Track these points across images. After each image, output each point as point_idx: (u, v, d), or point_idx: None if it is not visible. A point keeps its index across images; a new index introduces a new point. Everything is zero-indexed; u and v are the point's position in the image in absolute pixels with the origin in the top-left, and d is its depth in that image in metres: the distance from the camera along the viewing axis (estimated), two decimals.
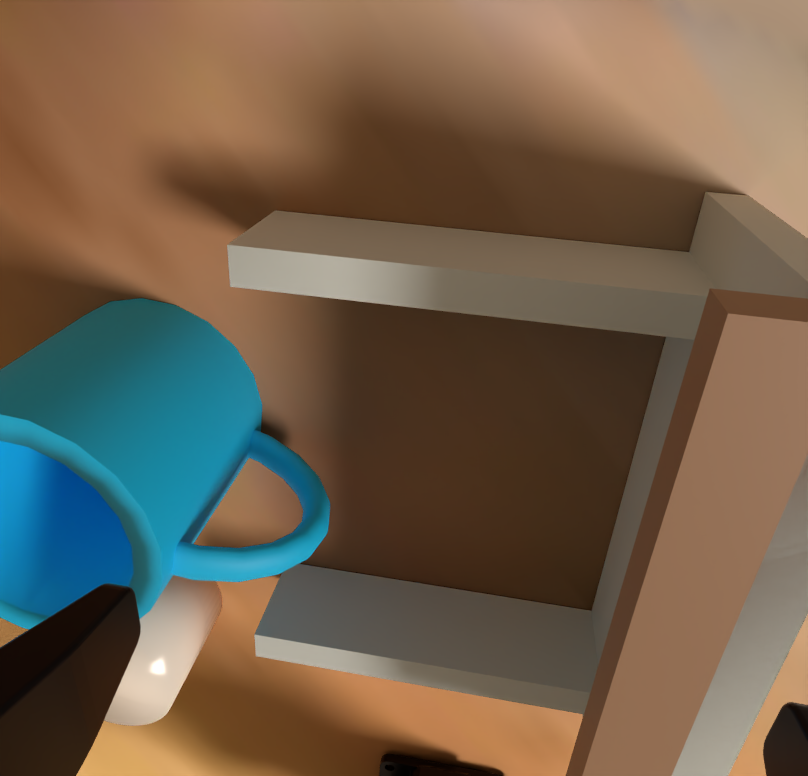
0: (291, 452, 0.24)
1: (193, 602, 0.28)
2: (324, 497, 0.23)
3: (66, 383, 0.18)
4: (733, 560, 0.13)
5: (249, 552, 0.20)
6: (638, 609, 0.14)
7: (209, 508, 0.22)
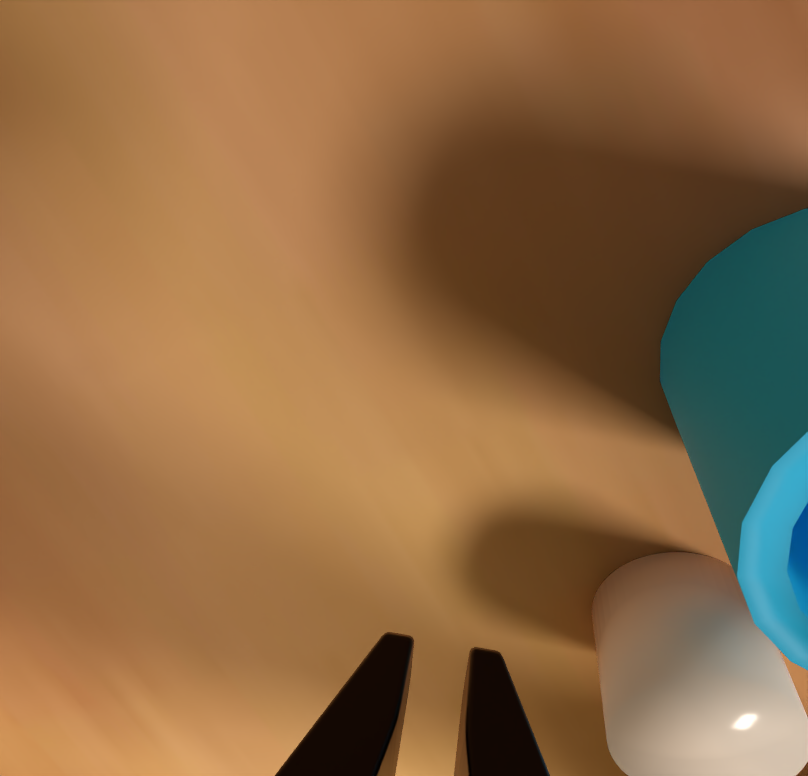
0: None
1: None
2: None
3: None
4: None
5: None
6: None
7: None
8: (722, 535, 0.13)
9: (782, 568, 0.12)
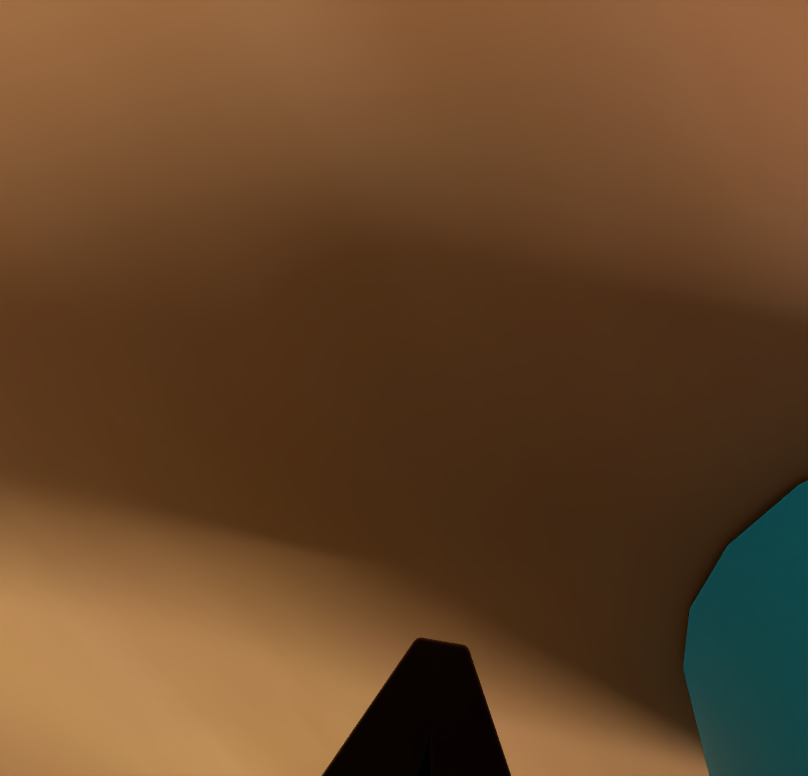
0: None
1: None
2: None
3: None
4: None
5: None
6: None
7: None
8: None
9: None
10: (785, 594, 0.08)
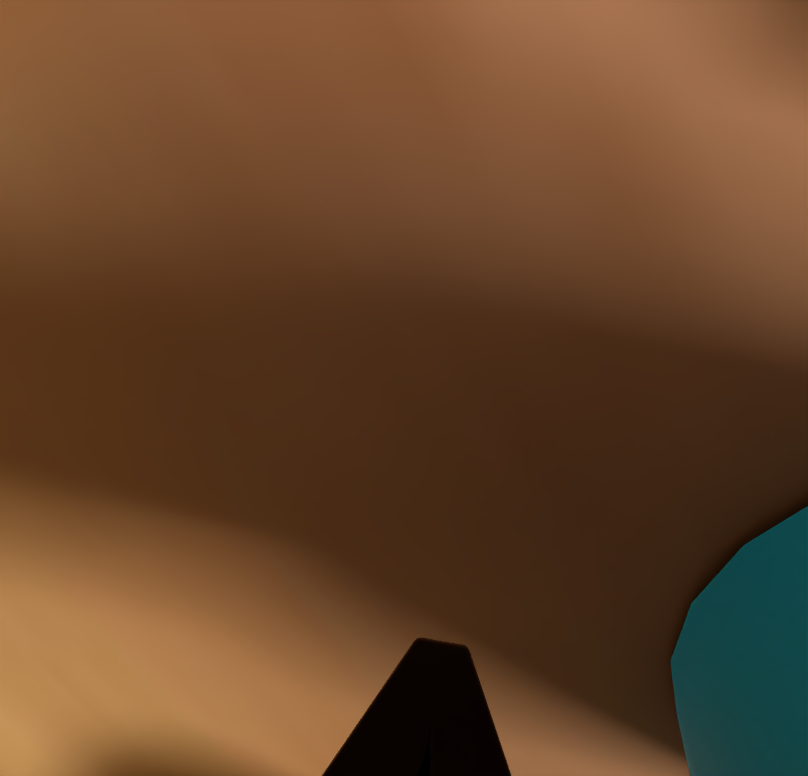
0: None
1: None
2: None
3: None
4: None
5: None
6: None
7: None
8: None
9: None
10: None
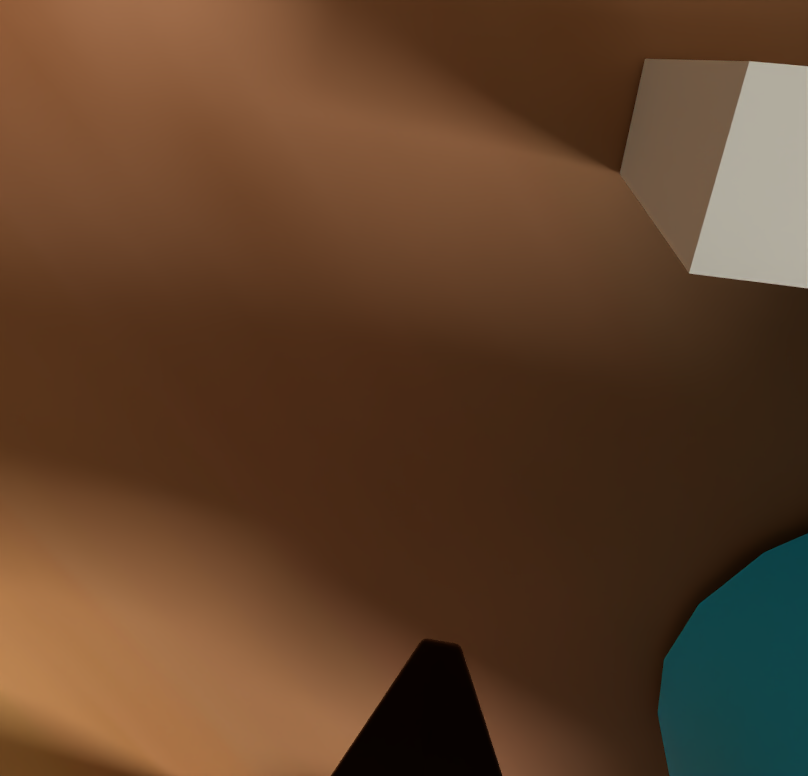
0: None
1: None
2: None
3: None
4: None
5: None
6: None
7: None
8: None
9: None
10: None
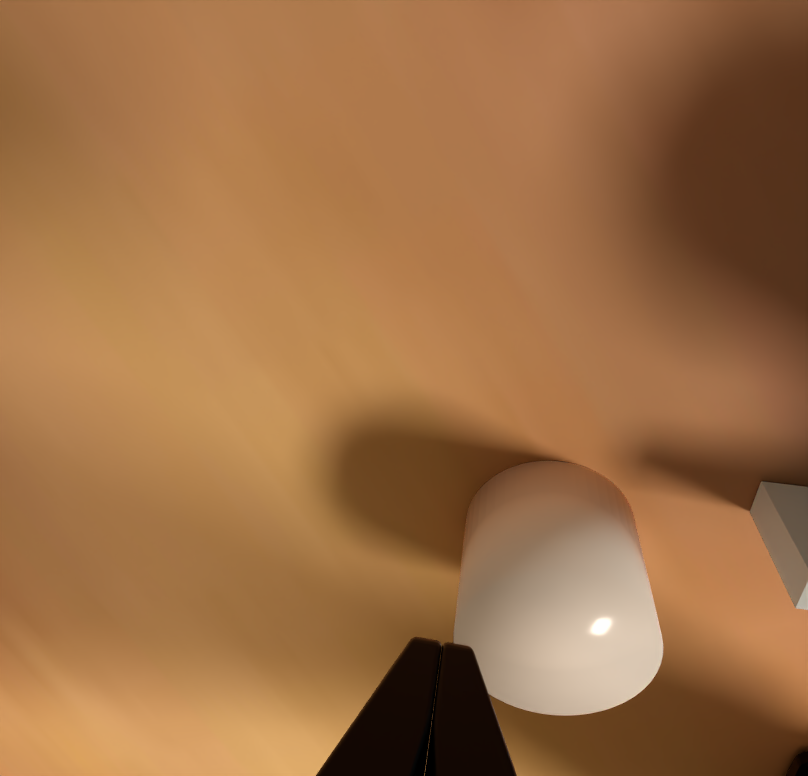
0: None
1: (637, 539, 0.20)
2: None
3: None
4: None
5: None
6: None
7: None
8: None
9: None
10: None
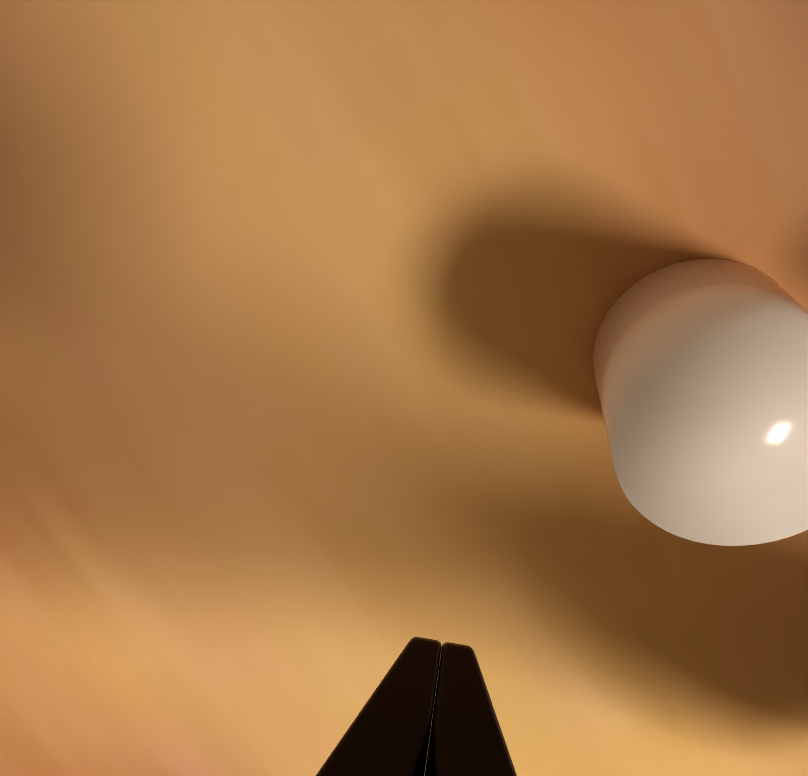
0: None
1: None
2: None
3: None
4: None
5: None
6: None
7: None
8: None
9: None
10: None
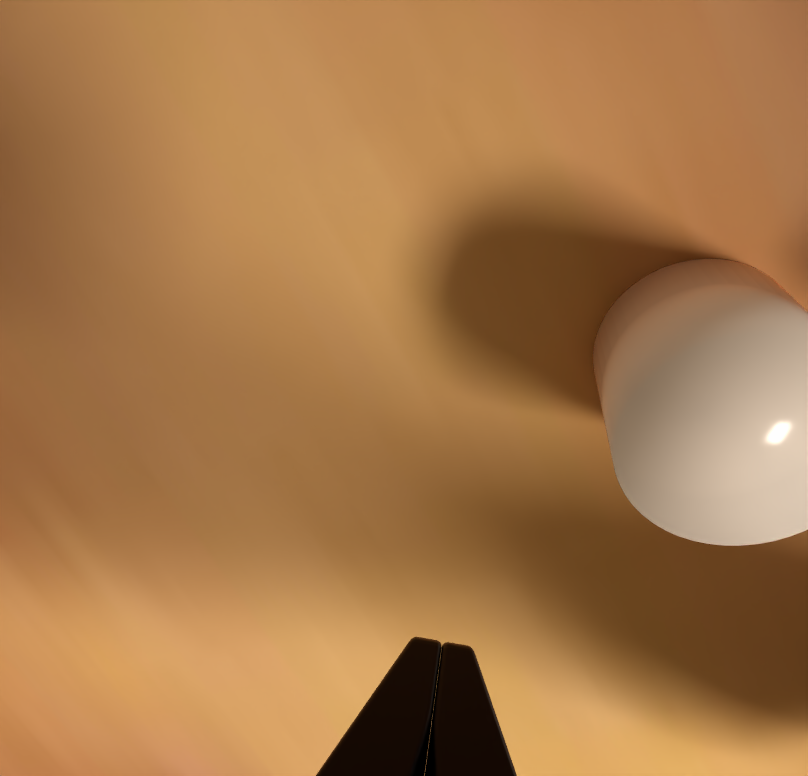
0: None
1: None
2: None
3: None
4: None
5: None
6: None
7: None
8: None
9: None
10: None
